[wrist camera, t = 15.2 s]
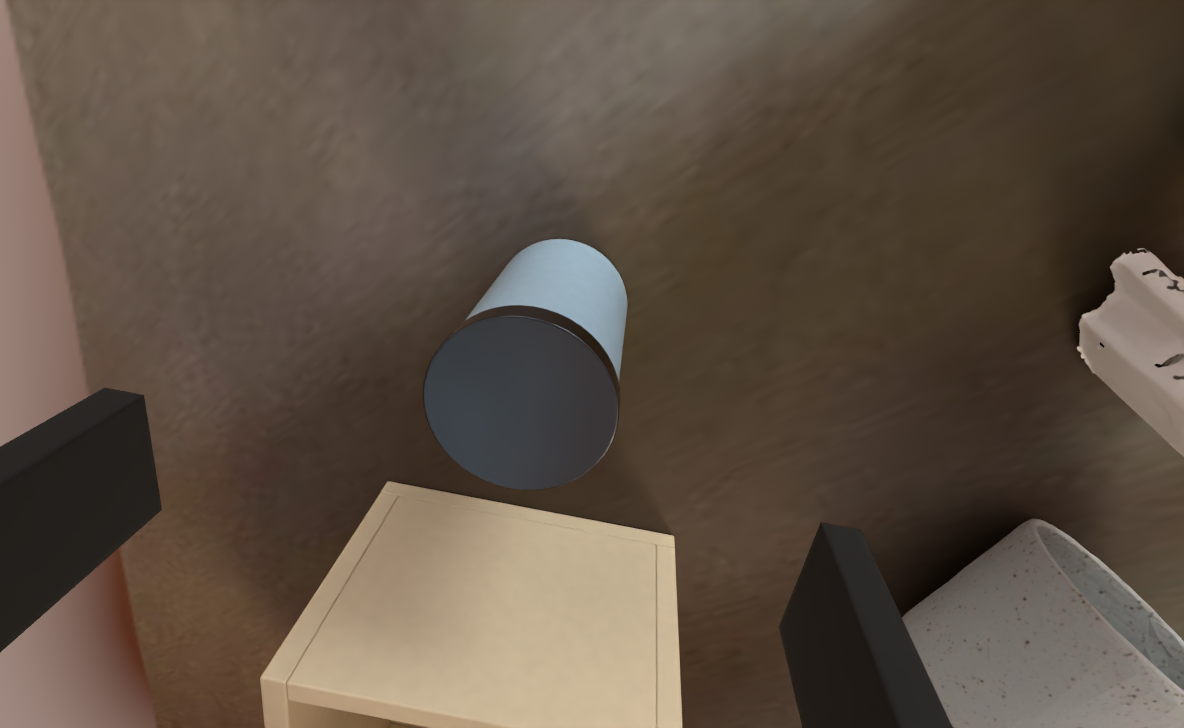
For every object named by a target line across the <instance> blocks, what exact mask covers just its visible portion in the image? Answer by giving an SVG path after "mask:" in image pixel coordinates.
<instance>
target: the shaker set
mask: <svg viewBox="0 0 1184 728" xmlns="http://www.w3.org/2000/svg"><path fill="white" fill-rule="evenodd" d="M1142 249H1144V248H1139V249H1137V250H1142ZM1145 250H1146V249H1145ZM1110 269H1111V270H1112V274H1114V275H1113V278H1114V279H1115V281H1116V282H1115V290H1114V292H1113V293H1112V294H1110V295H1108V296H1107V299H1106V301H1105V302H1103V303H1102V305H1101V307H1099V308H1098V309H1096V310H1093V311H1091V312H1090V313H1089V312H1088V313H1085V314H1082V318H1081V319H1080V323H1079V328H1080V336H1079V337H1080V343H1079V345H1080V346H1079V347H1077V350H1078V351H1080V352H1081V353H1082V354H1081V358H1084V359H1085V362H1086V364H1087V365H1088V366H1090V367H1089V368H1090V369H1091V370H1092V373H1095V374H1096V375H1097V376H1098V377H1099V378H1100V379H1101V380H1102V381H1103V382H1105V383H1106V384H1107V385H1108V386H1109V387H1110V388H1111V389H1112V390H1113V391H1114V392H1115V393H1116V394H1117V395H1118V396H1119V397H1120V398H1121V399H1122V400H1123V401H1124V402H1125V403H1126V404H1128V405H1129V406H1130V407H1131V408H1132V409H1133V410H1134V411H1135V412H1136V413H1137V414H1138V415H1139V416H1140V417H1142V418H1143V419H1144V420H1145V421H1146V422H1147V423H1148V424H1149V425H1150V426H1151V427H1152V428H1153V429H1154V430H1155V431H1156V432H1157V433H1158V434H1159V435H1160V436H1162V437H1163V438H1164V439H1165V440H1166V441H1167V442H1168V443H1169V444H1170V445H1171V446H1172V447H1173V448H1174V449H1175V450H1177V451H1178V452H1179V453H1180V454H1181V455H1182V456H1183V457H1184V279H1183V278H1182V277H1177V276H1175V275H1174V274H1173V273H1172V272H1171V271H1170V270H1169V269H1168V268H1167V267H1166V266H1165V265H1164V264H1163V263H1162V262H1161V261H1160V260H1159V259H1158V258H1157V257H1156V256H1155V255H1154V254H1152V253H1151V252H1150V251H1148V250H1146V253H1144V252H1139V253H1136V254H1132V253H1131V251H1130V252H1129V254H1127V255H1126V254H1125V253H1123V254H1122V255H1121V256H1120V257H1119V258H1117V259H1116V260H1114V261H1113V264H1112V265H1111V266H1110ZM1146 271H1150V274H1147V275H1142V273H1143V272H1146ZM1100 342H1101V343H1102V344H1103V345H1104V348H1103V347H1102V346H1101V345H1100ZM1176 354H1179V356H1178V357H1177V358H1175V359H1174V361H1173V362H1172V363H1171V364H1170V365H1169V366H1164V367H1160V368H1158V367H1156V366H1154V365H1155V364H1160V365H1161V364H1163V363H1164V362H1165V361H1166V360H1168V359H1169V358H1170V357H1174V356H1175V355H1176Z"/></svg>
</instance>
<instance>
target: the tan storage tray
mask: <svg viewBox="0 0 1184 728" xmlns="http://www.w3.org/2000/svg"><path fill="white" fill-rule="evenodd" d="M260 682H261V692H262V703H263V714H264V724H265V728H682V705H681V682H680V658H679V635H678V612H677V589H676V566H675V543H674V536H672V535H667V534H662V533H657V532H652V531H646V530H641V529H636V528H631V527H625V526H620V525H615V524H610V523H604V522H599V521H594V520H589V519H583V518H578V517H573V516H568V515H563V514H557V513H552V512H547V511H542V510H536V509H531V508H526V507H521V506H515V505H510V504H505V503H500V502H495V501H489V500H484V499H479V498H474V497H468V496H463V495H458V494H453V493H447V492H442V491H437V490H432V489H426V488H421V487H416V486H411V485H406V484H400V483H395V482H390V481H388V482H387V483H386V484H385V486H384V488H383V489H382V491H381V493H380V494H379V496H378V497H377V499H376V500H375V502H374V503H373V505H372V507H371V508H370V510H369V511H368V513H367V514H366V516H365V517H364V519H363V520H362V522H361V523H360V525H359V527H358V528H357V530H356V531H355V533H354V534H353V536H352V537H351V539H350V540H349V542H348V543H347V545H346V546H345V548H344V550H343V551H342V553H341V554H340V556H339V557H338V559H337V560H336V562H335V563H334V565H333V566H332V568H331V570H330V571H329V573H328V574H327V576H326V577H325V579H324V580H323V582H322V583H321V585H320V586H319V588H318V589H317V591H316V593H315V594H314V596H313V597H312V599H311V600H310V602H309V603H308V605H307V606H306V608H305V609H304V611H303V613H302V614H301V616H300V617H299V619H298V620H297V622H296V623H295V625H294V626H293V628H292V629H291V631H290V633H289V634H288V636H287V637H286V639H285V640H284V642H283V643H282V645H281V646H280V648H279V649H278V651H277V652H276V654H275V656H274V657H273V659H272V660H271V662H270V663H269V665H268V666H267V668H266V669H265V671H264V672H263V674H262V676H261V678H260Z"/></svg>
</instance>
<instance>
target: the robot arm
mask: <svg viewBox="0 0 1184 728" xmlns="http://www.w3.org/2000/svg"><path fill="white" fill-rule="evenodd" d="M161 510H162V508H161V501H160V495H159V489H158V482H157V476H156V469H155V463H154V457H153V450H152V444H151V438H150V431H149V425H148V418H147V412H146V406H145V399H144V395H141V394H136V393H131V392H125V391H120V390H115V389H109V388H103V389H101V390H100V391H98V392H96V393H94V394H93V395H91V396H89V397H87V398H86V399H84V400H83V401H80V402H78V403H77V404H75V405H73V406H71V407H70V408H68V409H66V410H64V411H63V412H61V413H59V414H57V415H56V416H54V417H52V418H50V419H49V420H47V421H45V422H43V423H41V424H40V425H38V426H36V427H34V428H33V429H31V430H29V431H27V432H26V433H24V434H22V435H20V436H19V437H17V438H15V439H13V440H11V441H10V442H8V443H6V444H4V445H3V446H1V447H0V652H1V651H2V650H3V649H4V648H6V647H7V646H8V645H9V644H10V643H11V642H12V641H14V640H15V639H16V638H17V637H18V636H19V635H20V634H22V633H23V632H24V631H25V630H26V629H27V628H28V627H29V626H31V625H32V624H33V623H34V622H35V621H36V620H37V619H39V618H40V617H41V616H42V615H43V614H44V613H45V612H46V611H48V610H49V609H50V608H51V607H52V606H53V605H54V604H55V603H56V602H58V601H59V600H60V599H61V598H62V597H63V596H65V595H66V594H67V593H68V592H69V591H70V590H71V589H72V588H74V587H75V586H76V585H77V584H78V583H79V582H80V581H82V580H83V579H84V578H85V577H86V576H87V575H88V574H90V573H91V572H92V571H93V570H94V569H95V568H96V567H97V566H98V565H100V564H101V563H102V562H103V561H104V560H105V559H107V558H108V557H109V556H110V555H111V554H112V553H113V552H114V551H116V550H117V549H118V548H119V547H120V546H121V545H122V544H124V543H125V542H126V541H127V540H128V539H129V538H130V537H131V536H133V535H134V534H135V533H136V532H137V531H138V530H139V529H140V528H142V527H143V526H144V525H145V524H146V523H147V522H148V521H150V520H151V519H152V518H153V517H154V516H155V515H156V514H157V513H159V512H160V511H161ZM779 629H780V633H781V637H782V642H783V646H784V650H785V655H786V659H787V663H788V667H789V672H790V676H791V680H792V684H793V689H794V693H795V697H796V702H797V706H798V710H799V714H800V719H801V723H802V727H803V728H954V727H952V725H951V723H950V721H949V718H948V716H947V714H946V712H945V710H944V708H943V706H942V703H941V701H940V699H939V697H938V695H937V693H936V690H935V688H934V686H933V684H932V682H931V680H930V678H929V675H928V673H927V671H926V669H925V667H924V665H923V663H922V660H921V658H920V656H919V654H918V652H917V650H916V647H915V645H914V643H913V641H912V639H911V637H910V635H909V632H908V630H907V628H906V626H905V624H904V622H903V620H902V617H901V615H900V613H899V611H898V609H897V607H896V604H895V602H894V600H893V598H892V596H891V594H890V592H889V589H888V587H887V585H886V583H885V581H884V579H883V577H882V574H881V572H880V570H879V568H878V566H877V564H876V562H875V559H874V557H873V555H872V553H871V551H870V549H869V546H868V544H867V542H866V540H865V538H864V536H863V534H862V531H861V530H859V529H854V528H848V527H843V526H838V525H832V524H827V523H822V522H821V523H820V526H819V528H818V531H817V533H816V536H815V538H814V541H813V543H812V546H811V548H810V551H809V553H808V556H807V558H806V561H805V563H804V566H803V568H802V571H801V573H800V576H799V578H798V581H797V583H796V586H795V588H794V591H793V593H792V596H791V598H790V600H789V603H788V605H787V608H786V610H785V613H784V615H783V618H782V620H781V623H780V625H779Z"/></svg>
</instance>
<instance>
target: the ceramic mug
mask: <svg viewBox="0 0 1184 728" xmlns="http://www.w3.org/2000/svg"><path fill="white" fill-rule="evenodd" d="M902 620H903V622H904V624H905V626H906V628H907V630H908V632H909V635H910V637H911V639H912V641H913V643H914V645H915V647H916V650H917V652H918V654H919V656H920V658H921V660H922V663H923V665H924V667H925V669H926V671H927V673H928V675H929V678H930V680H931V682H932V684H933V686H934V688H935V690H936V693H937V695H938V697H939V699H940V701H941V703H942V706H943V708H944V710H945V712H946V714H947V716H948V718H949V721H950V723H951V725H952V727H954V728H1184V641H1183V640H1182V639H1181V638H1180V637H1179V636H1178V635H1177V634H1176V633H1175V632H1174V631H1173V630H1172V629H1171V628H1170V627H1169V626H1168V625H1167V624H1166V623H1165V622H1164V621H1163V620H1162V618H1161V617H1160V616H1159V615H1158V614H1157V613H1156V612H1155V611H1154V610H1153V609H1152V608H1151V607H1150V606H1149V605H1148V604H1147V603H1146V602H1145V601H1144V600H1143V599H1142V598H1140V597H1139V596H1138V595H1137V594H1136V593H1135V592H1134V591H1133V590H1132V589H1131V588H1130V587H1129V586H1128V585H1127V584H1126V583H1125V582H1124V581H1122V580H1121V579H1120V578H1119V577H1118V576H1117V575H1116V574H1115V573H1114V572H1113V571H1112V570H1111V569H1110V568H1108V567H1107V566H1106V565H1105V564H1104V563H1103V562H1102V561H1101V560H1100V559H1098V558H1097V557H1095V556H1094V555H1093V554H1091V553H1090V552H1089V551H1087V550H1086V549H1085V548H1083V547H1082V546H1081V545H1080V544H1079V543H1078V542H1077V541H1075V540H1074V539H1073V538H1071V537H1070V536H1068V535H1067V534H1065V533H1064V532H1062V531H1061V530H1059V529H1057V528H1056V527H1055V526H1054V525H1051V524H1048V523H1047V522H1045V521H1043V520H1040V519H1030V520H1028V521H1026V522H1024V523H1023V524H1021V525H1020V526H1018V527H1017V528H1016V529H1015V530H1013V531H1012V532H1011V533H1010V534H1008V535H1007V536H1006V537H1004V538H1003V539H1002V540H1001V541H999V542H998V543H997V544H996V545H994V546H993V547H992V548H990V549H989V550H988V551H986V552H985V553H984V554H982V555H981V556H980V557H978V558H977V559H976V560H974V561H973V562H972V563H970V564H969V565H968V566H966V567H965V568H964V569H963V570H961V571H960V572H959V573H958V574H957V575H956V576H954V577H953V578H952V579H951V580H950V581H948V582H947V583H945V584H944V585H943V586H941V587H940V588H939V589H937V590H936V591H934V592H933V593H932V594H930V595H929V596H928V597H926V598H925V599H924V600H923V601H921V602H920V603H919V604H917V605H916V606H915V607H913V608H912V609H911V610H910V611H908V612H907V613H906V614H905V615H904V616H903V617H902Z"/></svg>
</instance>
